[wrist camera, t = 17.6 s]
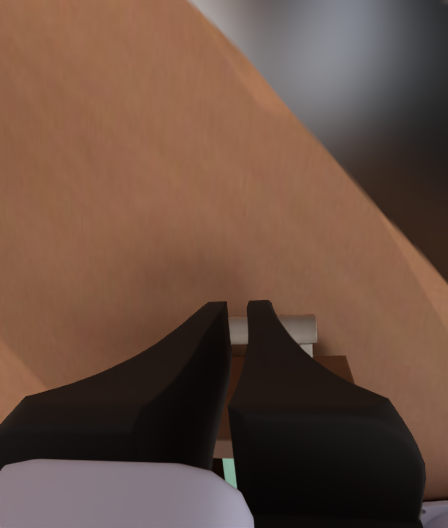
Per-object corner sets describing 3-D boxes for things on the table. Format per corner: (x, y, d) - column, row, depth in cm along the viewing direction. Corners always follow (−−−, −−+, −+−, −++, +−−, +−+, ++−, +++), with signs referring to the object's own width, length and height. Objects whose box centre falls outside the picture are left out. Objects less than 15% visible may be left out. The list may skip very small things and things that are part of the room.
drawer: (172, 289, 22) (133, 353, 16) (347, 282, 21) (380, 350, 15) (204, 492, 28) (185, 597, 22) (342, 498, 27) (364, 612, 21)
